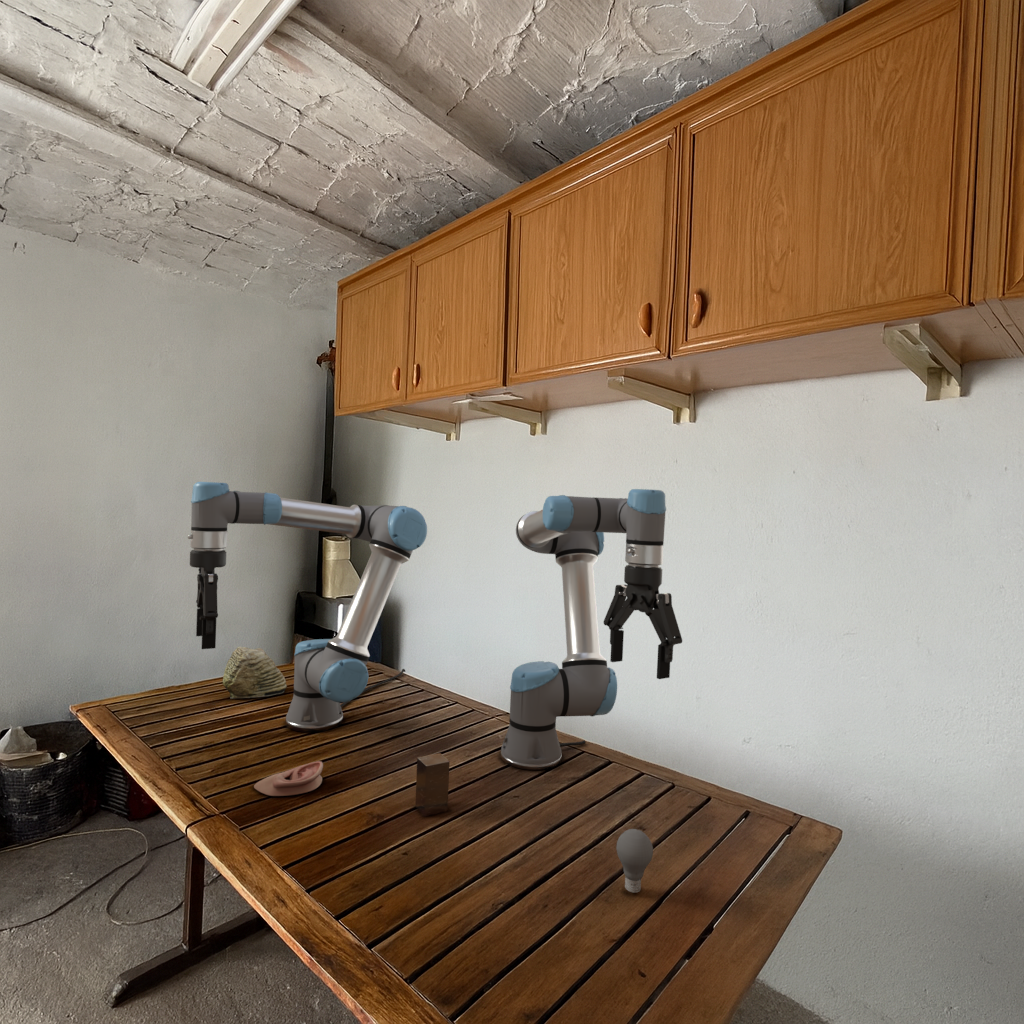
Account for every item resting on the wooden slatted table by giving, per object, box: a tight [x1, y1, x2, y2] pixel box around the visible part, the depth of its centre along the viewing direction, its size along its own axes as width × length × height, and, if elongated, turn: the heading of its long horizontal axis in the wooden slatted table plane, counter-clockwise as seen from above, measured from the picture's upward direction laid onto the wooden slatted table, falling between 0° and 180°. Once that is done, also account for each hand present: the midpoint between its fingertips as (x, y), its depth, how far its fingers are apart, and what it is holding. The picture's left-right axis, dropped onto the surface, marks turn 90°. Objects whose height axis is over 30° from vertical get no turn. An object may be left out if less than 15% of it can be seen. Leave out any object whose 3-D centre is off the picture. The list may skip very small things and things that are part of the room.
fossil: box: [222, 646, 288, 699], centre depth 198 cm, size 9×18×15 cm, turn 132°
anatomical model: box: [253, 760, 324, 797], centre depth 138 cm, size 13×4×12 cm
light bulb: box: [615, 828, 654, 894], centre depth 106 cm, size 6×6×10 cm
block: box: [414, 752, 451, 818], centre depth 131 cm, size 5×5×10 cm
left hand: (205, 642), depth 145 cm, fingers open, 13 cm apart
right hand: (638, 669), depth 129 cm, fingers open, 13 cm apart
